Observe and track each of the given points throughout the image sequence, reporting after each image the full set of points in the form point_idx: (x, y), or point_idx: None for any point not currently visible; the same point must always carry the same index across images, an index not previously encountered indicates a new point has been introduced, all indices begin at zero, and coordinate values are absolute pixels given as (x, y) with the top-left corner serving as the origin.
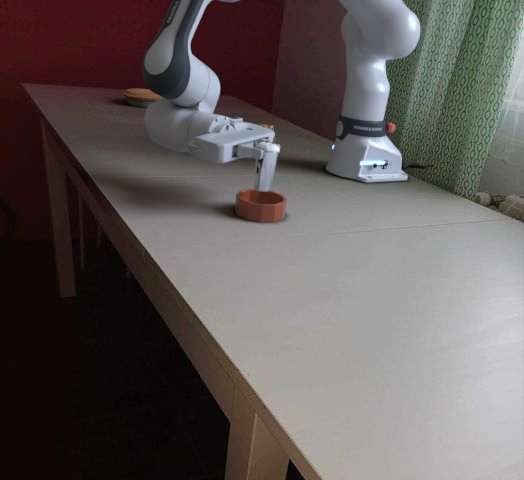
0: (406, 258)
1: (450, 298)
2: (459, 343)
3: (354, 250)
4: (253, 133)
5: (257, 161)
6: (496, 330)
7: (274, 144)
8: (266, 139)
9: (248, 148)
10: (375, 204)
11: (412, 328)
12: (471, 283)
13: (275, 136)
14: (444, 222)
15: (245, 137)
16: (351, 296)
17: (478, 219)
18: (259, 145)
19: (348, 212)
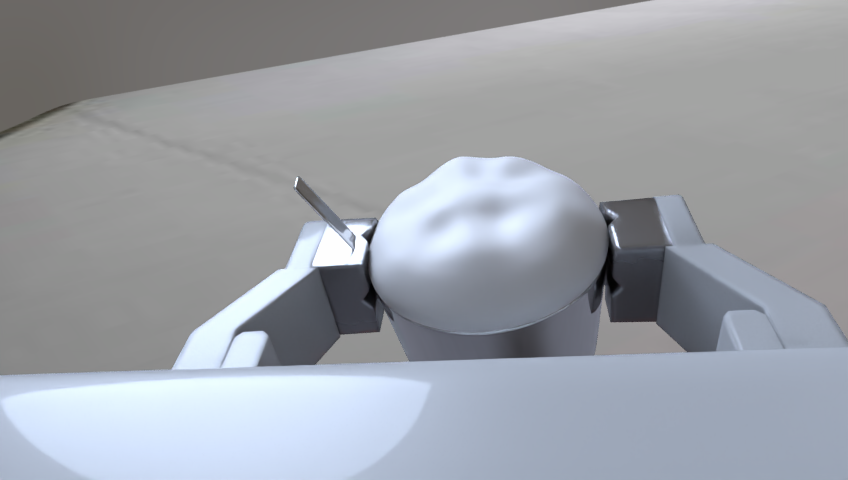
0: (502, 117)
1: (628, 46)
2: (777, 8)
3: (566, 176)
4: (169, 467)
5: (595, 350)
6: (675, 7)
7: (470, 160)
8: (197, 348)
9: (757, 277)
10: (57, 287)
11: (816, 33)
12: (524, 52)
13: (302, 179)
14: (165, 152)
15: (571, 383)
16: (836, 95)
17: (101, 130)
18: (584, 234)
19: (210, 304)
